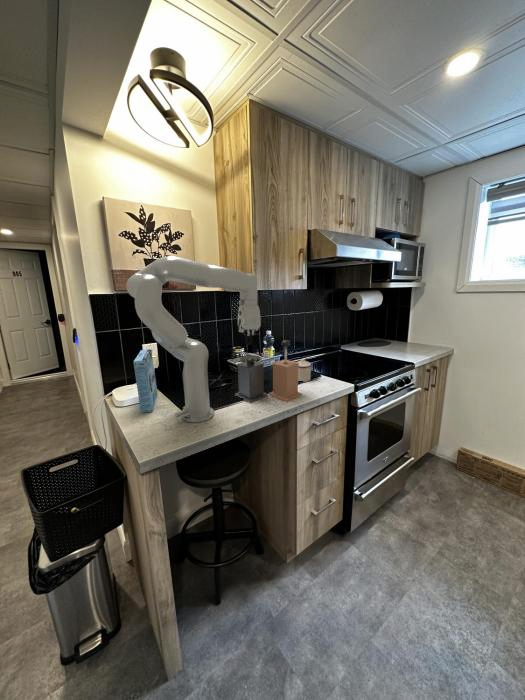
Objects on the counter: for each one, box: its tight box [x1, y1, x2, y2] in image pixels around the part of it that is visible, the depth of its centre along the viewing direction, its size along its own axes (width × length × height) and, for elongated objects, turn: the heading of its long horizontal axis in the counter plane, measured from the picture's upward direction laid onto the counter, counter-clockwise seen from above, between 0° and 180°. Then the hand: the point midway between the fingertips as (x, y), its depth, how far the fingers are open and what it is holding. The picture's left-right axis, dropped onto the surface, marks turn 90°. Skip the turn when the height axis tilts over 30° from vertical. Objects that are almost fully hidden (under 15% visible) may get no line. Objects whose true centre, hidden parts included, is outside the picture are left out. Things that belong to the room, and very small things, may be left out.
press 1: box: [234, 361, 269, 404], centre depth 128 cm, size 11×12×16 cm
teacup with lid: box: [296, 358, 312, 383], centre depth 150 cm, size 12×9×12 cm
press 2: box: [268, 359, 303, 403], centre depth 128 cm, size 11×12×16 cm
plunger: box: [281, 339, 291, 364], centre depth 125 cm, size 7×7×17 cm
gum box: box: [133, 348, 158, 414], centre depth 121 cm, size 20×5×23 cm, turn 15°
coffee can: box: [240, 354, 261, 363], centre depth 144 cm, size 10×10×14 cm
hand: (249, 343), depth 123 cm, fingers closed
